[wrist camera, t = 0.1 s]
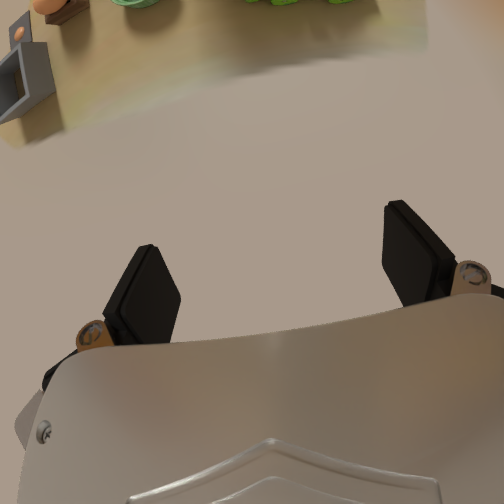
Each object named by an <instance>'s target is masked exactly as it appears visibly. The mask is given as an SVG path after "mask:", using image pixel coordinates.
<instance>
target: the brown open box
mask: <svg viewBox="0 0 504 504" xmlns="http://www.w3.org/2000/svg"><path fill="white" fill-rule="evenodd" d="M88 7H89V0H71V2H69V3H68V4H66V5H65V6H63V7H62V8H60V9H59V10H58V11H56V12H54V13H52V14H48V15H45V22H46V24H51V25H61V24H63V23H64V22H65V21H67V20H68V19H70V18H72V17H73V16H75V15H76V14H78V13H79V12H81V11H83V10H84V9H86V8H88Z"/></svg>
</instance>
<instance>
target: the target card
mask: <svg viewBox="0 0 504 504" xmlns="http://www.w3.org/2000/svg"><path fill="white" fill-rule="evenodd" d="M9 36H10V47H11V51H12V50H13V49H14V48H15V47H16V46H17V45H18V44H19V43H20V42H31V41H32V34H31V24H30V12H29V10H28V11H27V12H26V13H25V14H24V15H22V16H21V17H20V18H19V19H18V20H17V21H16V22H15V23H14V24H13V25H12V26H11V27H9Z"/></svg>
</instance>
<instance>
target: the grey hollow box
mask: <svg viewBox="0 0 504 504" xmlns="http://www.w3.org/2000/svg"><path fill="white" fill-rule="evenodd" d="M20 67H21V73H22V79H23V84H24V88H25V93H26V95H25V96H24V97H22V98H21V99H20V100H19V98H18V93H17V89H16V84H15V78H14V72H15V71H17V70H18V69H19V68H20ZM55 91H56V88H55V84H54V80H53V75H52V71H51V66H50V61H49V55H48V50H47V44H46V42H20V43H19V44H18V45H17V46H16V47H15V48H14V49H13V50H12V51H11V52H9V53H8V54H7V55H6V56H5V57H4V58H3V59H2V61H0V124H3V123H5V122H8V121H11V120H14V119H16V118H19V117H21V116H22V115H24V114H25V113H26V112H27V111H29V110H30V109H31V108H33V107H34V106H35V105H37V104H38V103H39V102H41V101H42V100H44V99H45V98H46V97H48V96H49V95H51V94H52V93H54V92H55Z"/></svg>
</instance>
